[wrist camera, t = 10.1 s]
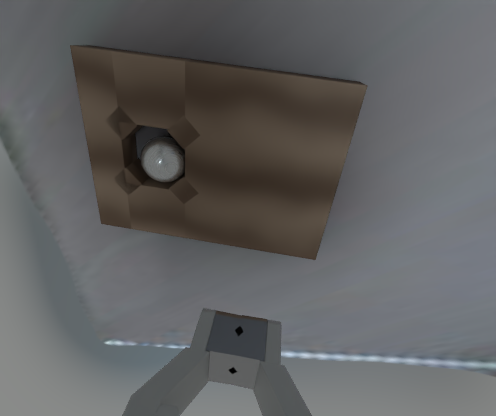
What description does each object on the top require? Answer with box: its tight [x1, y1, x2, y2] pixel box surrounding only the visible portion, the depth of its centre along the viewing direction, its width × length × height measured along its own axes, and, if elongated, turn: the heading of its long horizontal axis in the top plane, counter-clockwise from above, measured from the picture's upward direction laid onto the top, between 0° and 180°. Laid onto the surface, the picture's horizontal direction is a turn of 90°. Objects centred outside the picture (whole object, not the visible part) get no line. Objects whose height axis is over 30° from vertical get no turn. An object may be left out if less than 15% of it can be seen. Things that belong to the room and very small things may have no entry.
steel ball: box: [141, 137, 185, 182], centre depth 25 cm, size 4×4×4 cm
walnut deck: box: [70, 45, 367, 260], centre depth 26 cm, size 16×22×2 cm
